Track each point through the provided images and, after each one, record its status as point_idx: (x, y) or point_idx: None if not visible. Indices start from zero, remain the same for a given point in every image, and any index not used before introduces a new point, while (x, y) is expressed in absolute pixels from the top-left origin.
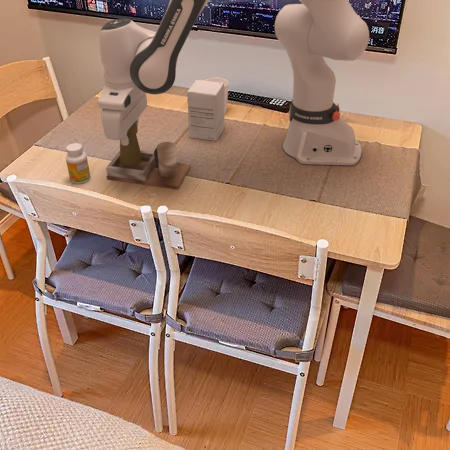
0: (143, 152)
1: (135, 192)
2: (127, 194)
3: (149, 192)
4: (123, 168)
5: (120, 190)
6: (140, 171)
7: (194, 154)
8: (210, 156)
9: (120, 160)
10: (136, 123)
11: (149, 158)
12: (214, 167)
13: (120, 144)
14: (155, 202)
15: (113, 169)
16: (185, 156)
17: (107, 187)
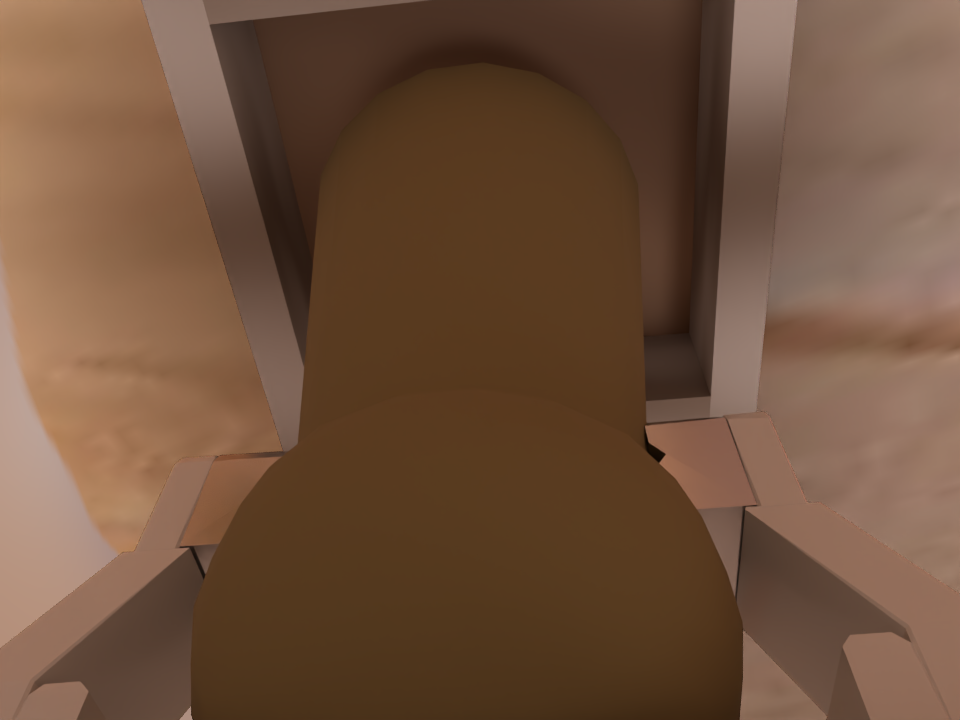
0: (729, 277)
1: (146, 350)
2: (72, 300)
3: (216, 449)
4: (248, 222)
5: (84, 205)
6: (290, 423)
7: (950, 543)
8: None
9: (354, 131)
10: (814, 687)
11: (697, 311)
12: (750, 695)
13: (344, 289)
14: (122, 532)
15: (174, 87)
16: (905, 495)
17: (38, 32)
